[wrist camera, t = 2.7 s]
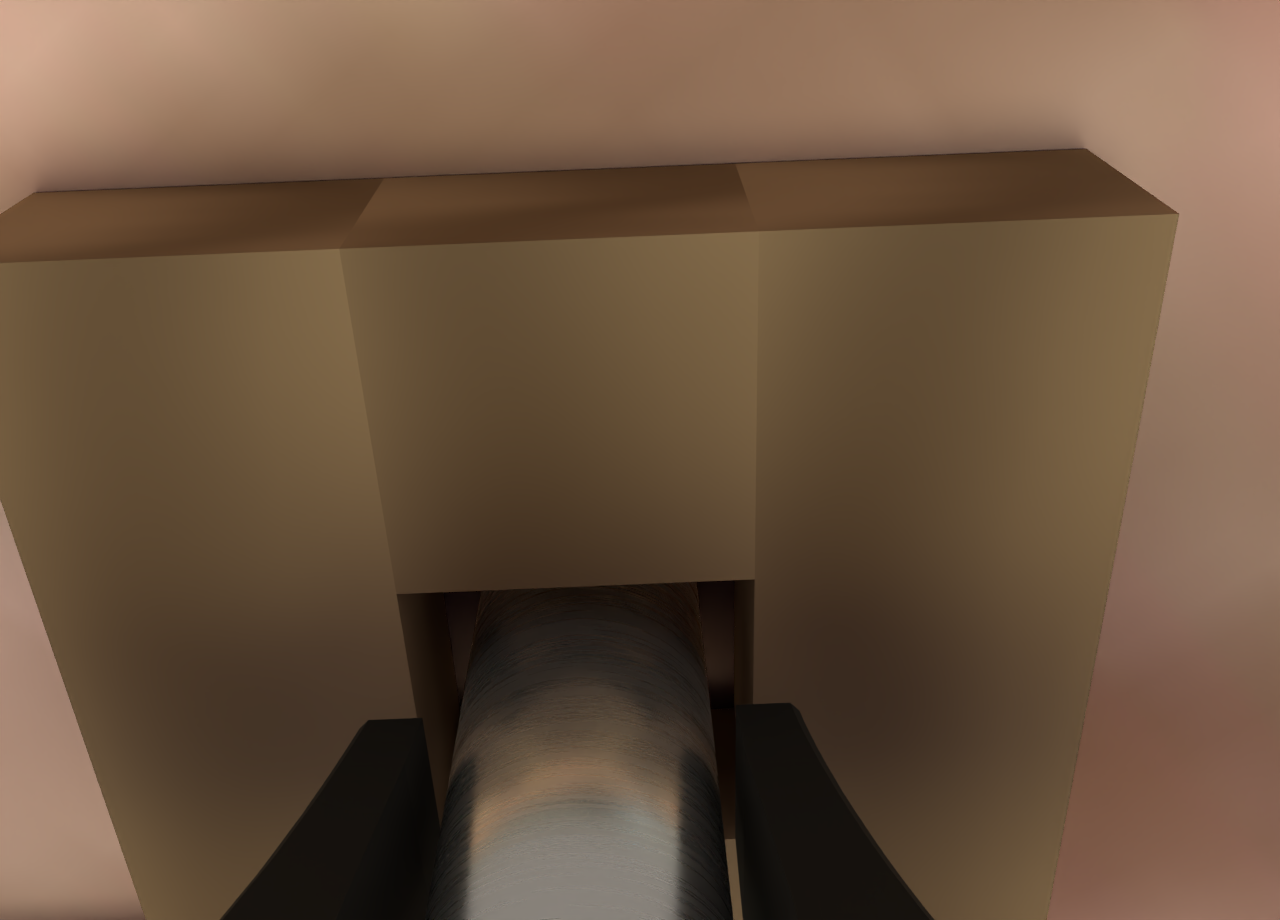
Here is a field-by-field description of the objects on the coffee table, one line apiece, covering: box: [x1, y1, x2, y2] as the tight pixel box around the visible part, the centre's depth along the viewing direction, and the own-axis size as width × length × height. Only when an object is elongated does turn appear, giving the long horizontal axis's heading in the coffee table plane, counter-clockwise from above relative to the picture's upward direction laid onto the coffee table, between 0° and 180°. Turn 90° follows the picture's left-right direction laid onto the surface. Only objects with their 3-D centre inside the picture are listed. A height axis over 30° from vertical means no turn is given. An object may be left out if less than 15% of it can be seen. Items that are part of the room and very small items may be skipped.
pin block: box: [0, 149, 1179, 920], centre depth 15 cm, size 12×12×2 cm
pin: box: [425, 582, 733, 920], centre depth 13 cm, size 3×3×8 cm
